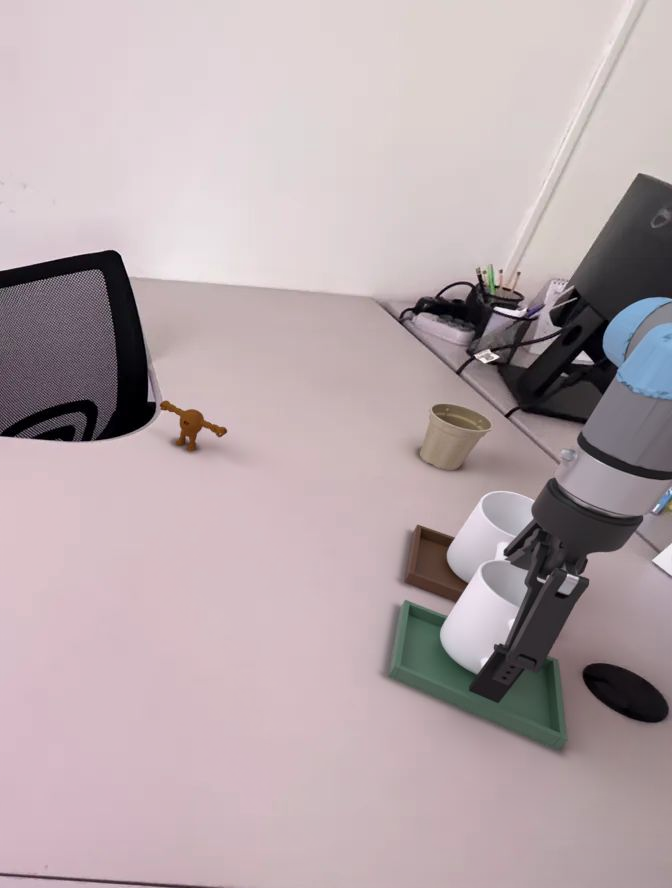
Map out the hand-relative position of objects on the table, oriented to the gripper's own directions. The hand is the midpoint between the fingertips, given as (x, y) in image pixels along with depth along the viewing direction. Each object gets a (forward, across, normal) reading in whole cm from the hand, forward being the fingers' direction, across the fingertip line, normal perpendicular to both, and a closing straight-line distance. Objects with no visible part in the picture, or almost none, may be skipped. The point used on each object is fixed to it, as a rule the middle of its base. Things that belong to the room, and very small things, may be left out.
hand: (484, 654), depth 73 cm
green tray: (+3, 0, 0) cm, 3 cm away
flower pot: (+4, -50, -6) cm, 50 cm away
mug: (+3, -18, 0) cm, 18 cm away
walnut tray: (+3, -18, 0) cm, 18 cm away
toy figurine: (+4, -26, -43) cm, 50 cm away
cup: (+2, 0, 0) cm, 2 cm away
